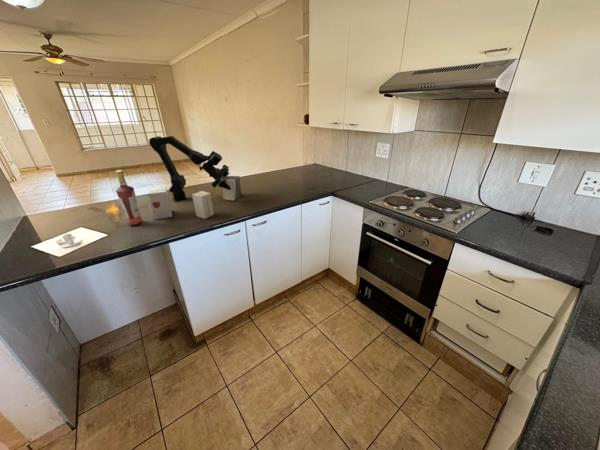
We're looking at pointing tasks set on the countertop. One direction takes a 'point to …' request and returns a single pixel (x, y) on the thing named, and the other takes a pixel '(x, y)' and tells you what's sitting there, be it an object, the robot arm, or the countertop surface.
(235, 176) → the grey book
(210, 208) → the white book
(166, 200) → the white product box
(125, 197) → the liquor
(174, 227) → the countertop surface
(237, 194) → the grey book
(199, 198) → the white book
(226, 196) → the white book
